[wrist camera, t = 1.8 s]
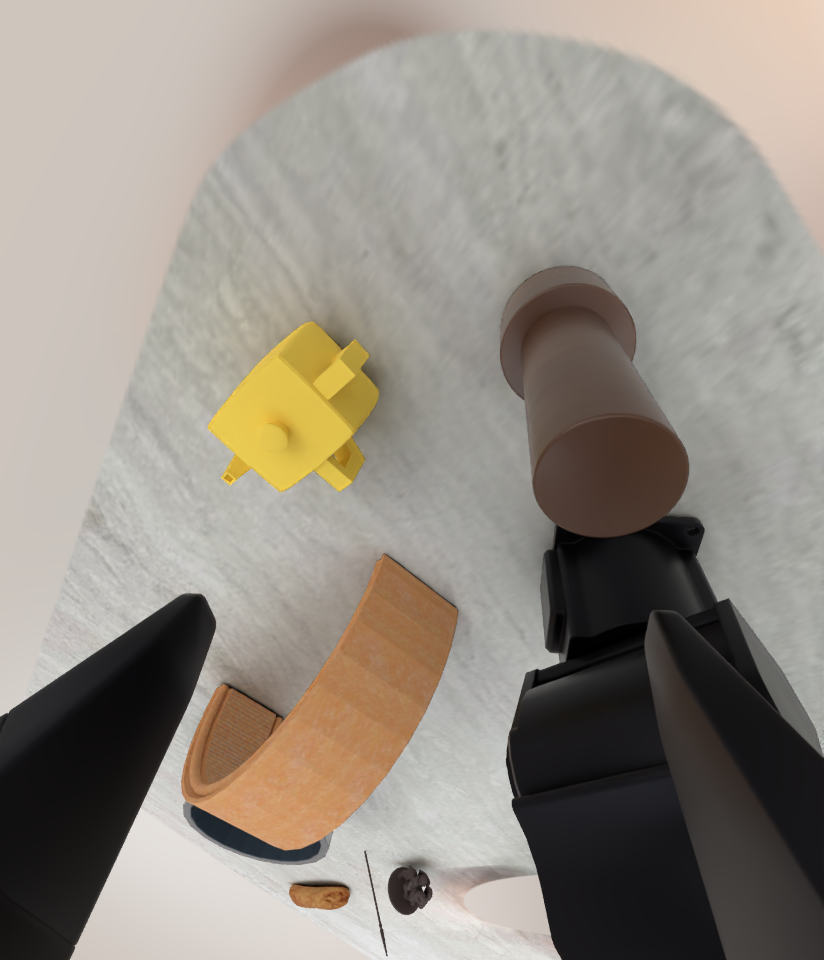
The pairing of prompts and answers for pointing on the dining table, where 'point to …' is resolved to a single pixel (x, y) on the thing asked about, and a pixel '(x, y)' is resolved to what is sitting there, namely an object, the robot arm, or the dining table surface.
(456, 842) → the dining table surface
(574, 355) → the muddler
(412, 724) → the arch
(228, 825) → the bowl
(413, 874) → the dark disc and stick
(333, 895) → the brown rounded lump
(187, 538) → the dining table surface
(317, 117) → the dining table surface
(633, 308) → the dining table surface
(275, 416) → the teapot
